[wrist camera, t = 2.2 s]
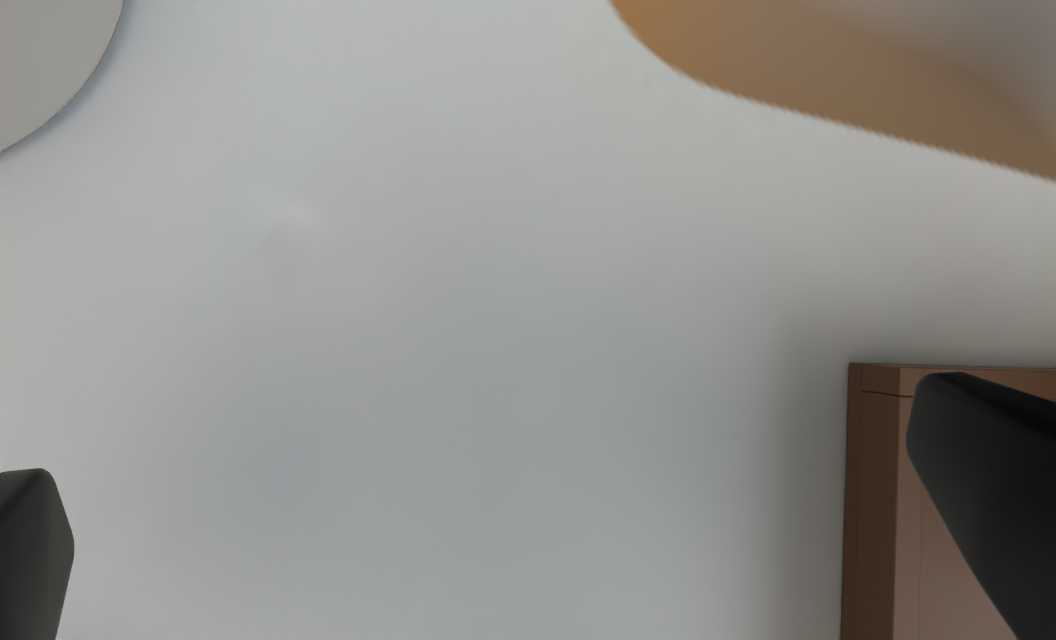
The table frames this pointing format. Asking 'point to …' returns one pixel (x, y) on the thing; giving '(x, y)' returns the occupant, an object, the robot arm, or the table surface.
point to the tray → (908, 518)
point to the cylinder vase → (47, 57)
